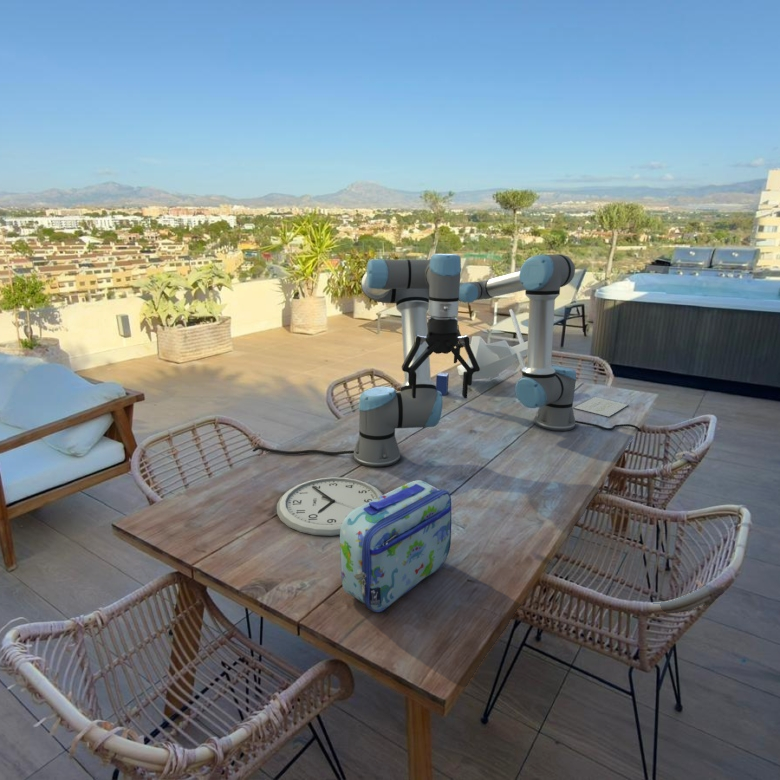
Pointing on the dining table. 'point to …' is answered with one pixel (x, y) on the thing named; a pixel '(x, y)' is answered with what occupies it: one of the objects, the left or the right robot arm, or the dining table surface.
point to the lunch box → (394, 543)
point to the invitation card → (601, 406)
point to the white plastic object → (495, 355)
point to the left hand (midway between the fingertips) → (439, 396)
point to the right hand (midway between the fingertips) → (440, 360)
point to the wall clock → (323, 504)
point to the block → (442, 383)
